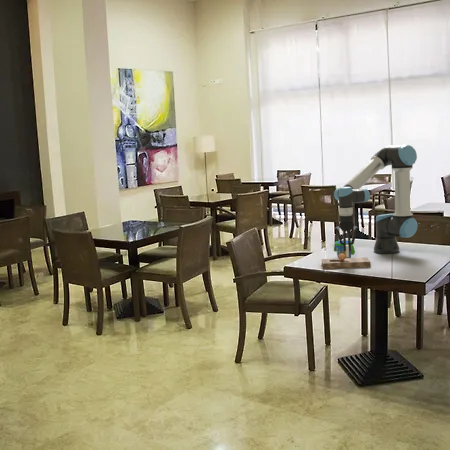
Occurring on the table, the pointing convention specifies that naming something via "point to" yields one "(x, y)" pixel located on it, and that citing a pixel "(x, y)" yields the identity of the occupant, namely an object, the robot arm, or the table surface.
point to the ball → (341, 257)
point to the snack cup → (340, 249)
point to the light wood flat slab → (346, 263)
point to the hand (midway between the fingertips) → (347, 256)
